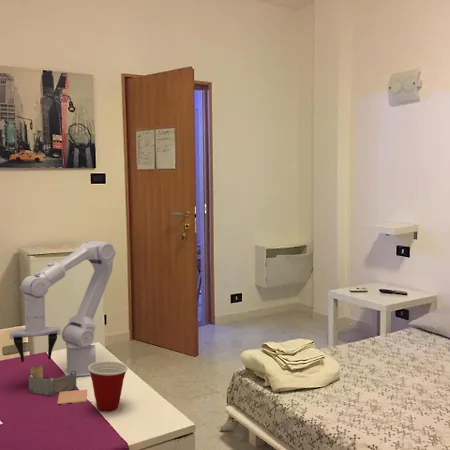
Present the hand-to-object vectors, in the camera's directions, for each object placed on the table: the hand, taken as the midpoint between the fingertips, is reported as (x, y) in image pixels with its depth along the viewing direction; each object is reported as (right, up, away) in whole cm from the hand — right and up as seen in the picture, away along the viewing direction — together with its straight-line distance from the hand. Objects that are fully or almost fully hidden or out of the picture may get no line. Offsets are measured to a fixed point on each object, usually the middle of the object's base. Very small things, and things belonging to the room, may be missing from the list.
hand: (36, 359), depth 160 cm
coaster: (+13, -9, -7) cm, 18 cm away
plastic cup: (+25, -10, -13) cm, 30 cm away
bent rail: (+6, -9, -4) cm, 12 cm away
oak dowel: (0, -9, +1) cm, 9 cm away
